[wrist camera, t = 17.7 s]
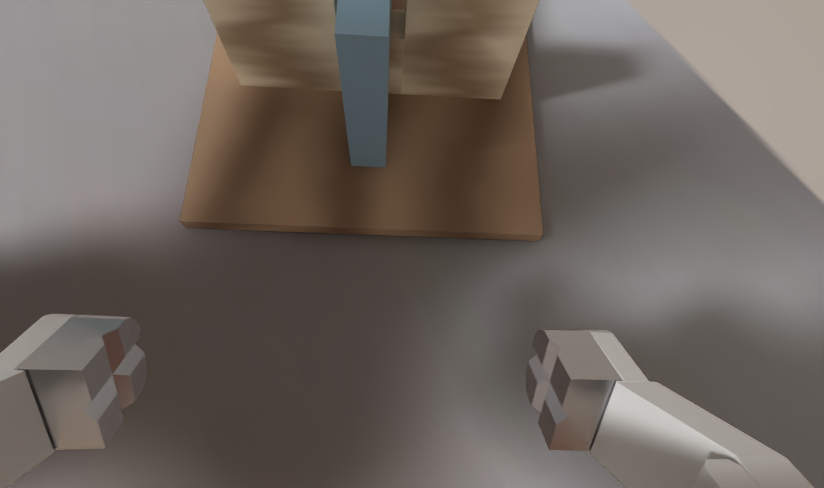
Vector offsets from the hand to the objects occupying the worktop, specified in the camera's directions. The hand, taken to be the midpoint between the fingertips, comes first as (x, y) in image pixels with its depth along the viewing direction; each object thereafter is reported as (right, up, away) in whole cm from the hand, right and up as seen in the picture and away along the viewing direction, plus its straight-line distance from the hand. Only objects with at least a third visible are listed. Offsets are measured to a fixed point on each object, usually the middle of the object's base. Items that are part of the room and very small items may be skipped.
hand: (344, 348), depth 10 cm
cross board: (-1, +12, +20) cm, 23 cm away
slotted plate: (-1, +12, +19) cm, 23 cm away
